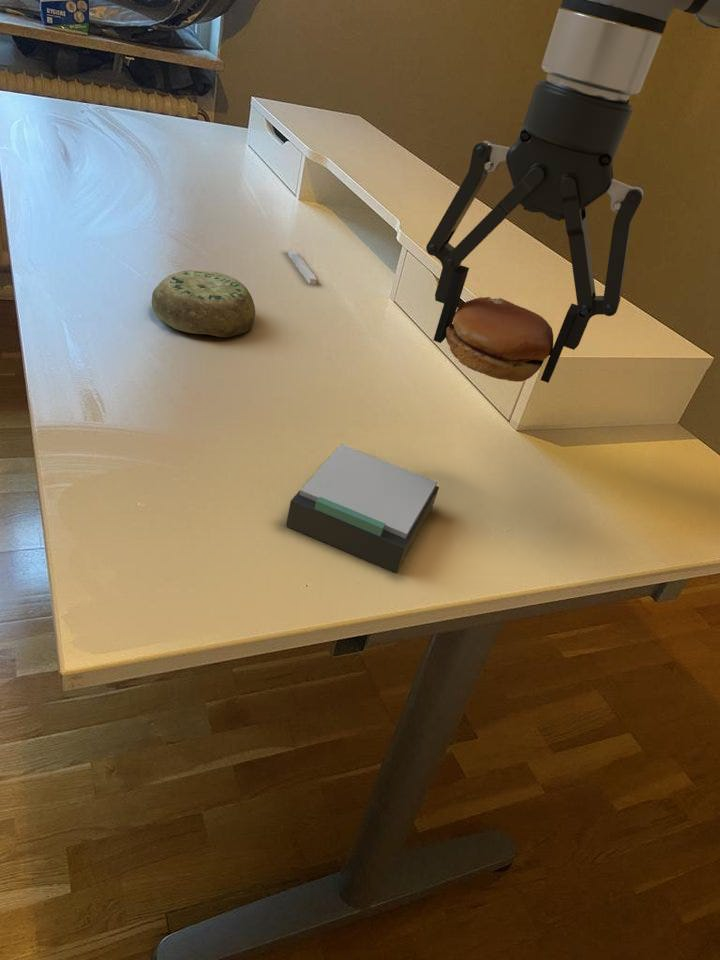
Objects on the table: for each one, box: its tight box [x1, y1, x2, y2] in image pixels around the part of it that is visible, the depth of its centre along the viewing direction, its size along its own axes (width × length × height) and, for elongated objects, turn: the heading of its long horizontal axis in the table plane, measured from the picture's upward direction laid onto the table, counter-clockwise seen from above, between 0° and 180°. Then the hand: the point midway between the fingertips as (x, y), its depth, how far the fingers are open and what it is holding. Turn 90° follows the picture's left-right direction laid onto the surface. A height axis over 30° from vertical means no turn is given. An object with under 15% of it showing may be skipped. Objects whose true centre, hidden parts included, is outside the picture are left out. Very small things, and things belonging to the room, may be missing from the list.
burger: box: [445, 296, 554, 383], centre depth 67 cm, size 10×9×5 cm
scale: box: [285, 443, 440, 574], centre depth 70 cm, size 11×11×4 cm
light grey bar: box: [287, 249, 318, 286], centre depth 122 cm, size 12×1×1 cm, turn 20°
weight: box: [151, 269, 256, 338], centre depth 98 cm, size 14×13×5 cm
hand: (493, 356), depth 68 cm, fingers closed on burger, 10 cm apart
